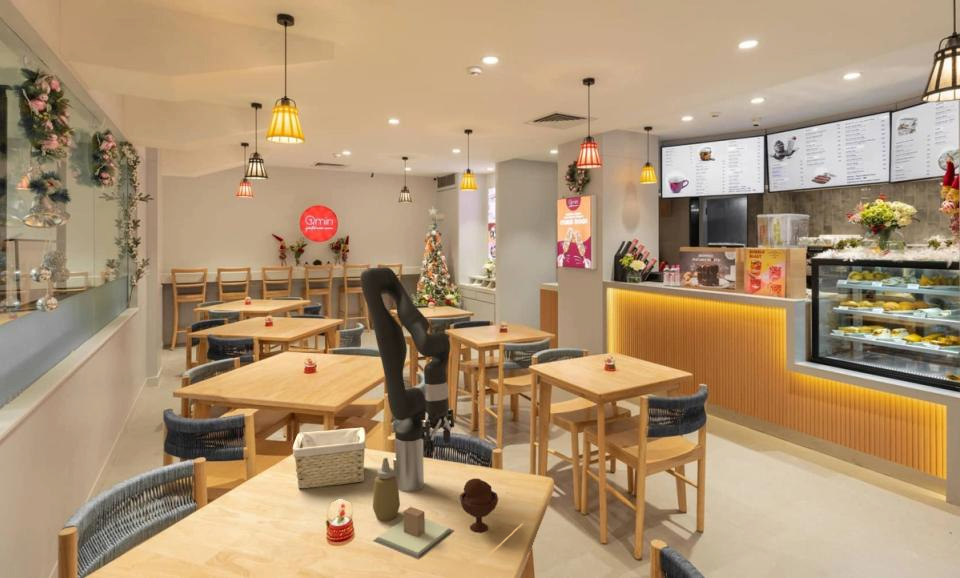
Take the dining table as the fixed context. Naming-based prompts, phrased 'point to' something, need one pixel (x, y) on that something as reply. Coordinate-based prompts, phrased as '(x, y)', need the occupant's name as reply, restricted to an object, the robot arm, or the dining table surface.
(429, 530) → the cover
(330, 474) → the storage basket
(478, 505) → the ice cream bowl
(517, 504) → the dining table surface
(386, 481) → the squeeze bottle
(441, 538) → the mat
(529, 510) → the dining table surface
